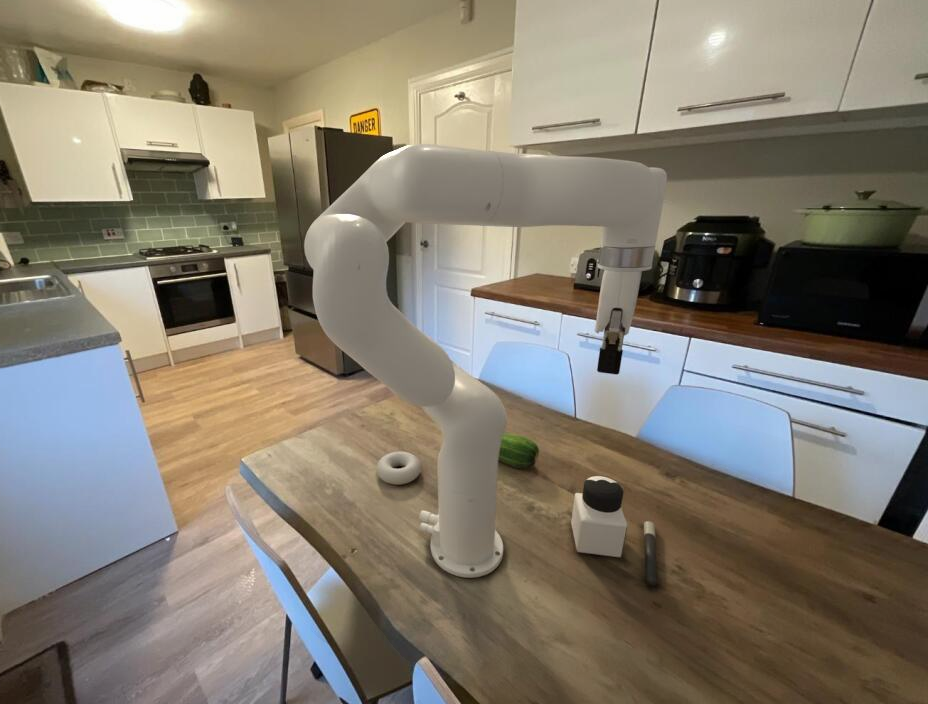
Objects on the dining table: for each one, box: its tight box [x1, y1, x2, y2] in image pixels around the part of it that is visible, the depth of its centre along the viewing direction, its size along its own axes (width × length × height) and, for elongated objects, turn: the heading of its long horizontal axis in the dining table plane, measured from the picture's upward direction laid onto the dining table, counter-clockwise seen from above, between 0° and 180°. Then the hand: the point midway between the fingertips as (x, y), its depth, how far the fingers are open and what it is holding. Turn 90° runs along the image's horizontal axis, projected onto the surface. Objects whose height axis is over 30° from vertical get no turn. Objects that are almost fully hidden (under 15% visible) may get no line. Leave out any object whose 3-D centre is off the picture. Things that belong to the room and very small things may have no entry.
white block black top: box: [570, 475, 628, 558], centre depth 70 cm, size 7×7×12 cm
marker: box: [643, 520, 659, 587], centre depth 68 cm, size 14×2×2 cm
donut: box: [376, 450, 422, 486], centre depth 91 cm, size 10×4×10 cm
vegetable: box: [498, 432, 540, 470], centre depth 95 cm, size 7×7×20 cm
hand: (609, 362), depth 68 cm, fingers open, 9 cm apart
